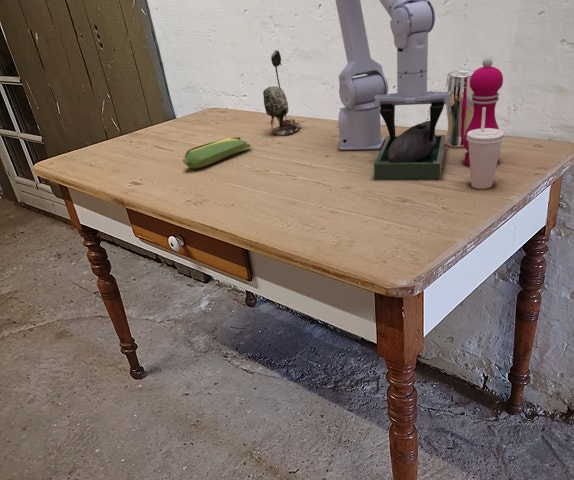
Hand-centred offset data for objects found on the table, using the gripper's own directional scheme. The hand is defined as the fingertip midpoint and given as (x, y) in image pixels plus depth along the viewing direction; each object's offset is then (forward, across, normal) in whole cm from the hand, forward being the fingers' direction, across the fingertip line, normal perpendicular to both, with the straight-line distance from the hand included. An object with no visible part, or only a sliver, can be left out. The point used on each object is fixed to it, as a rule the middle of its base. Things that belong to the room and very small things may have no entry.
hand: (411, 140), depth 117 cm
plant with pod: (+5, -36, +27) cm, 45 cm away
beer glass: (+5, +9, +14) cm, 17 cm away
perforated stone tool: (+5, 0, 0) cm, 5 cm away
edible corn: (+5, -45, +4) cm, 46 cm away
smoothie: (+5, +14, -12) cm, 19 cm away
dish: (+5, 0, 0) cm, 5 cm away
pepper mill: (+5, +14, 0) cm, 15 cm away
